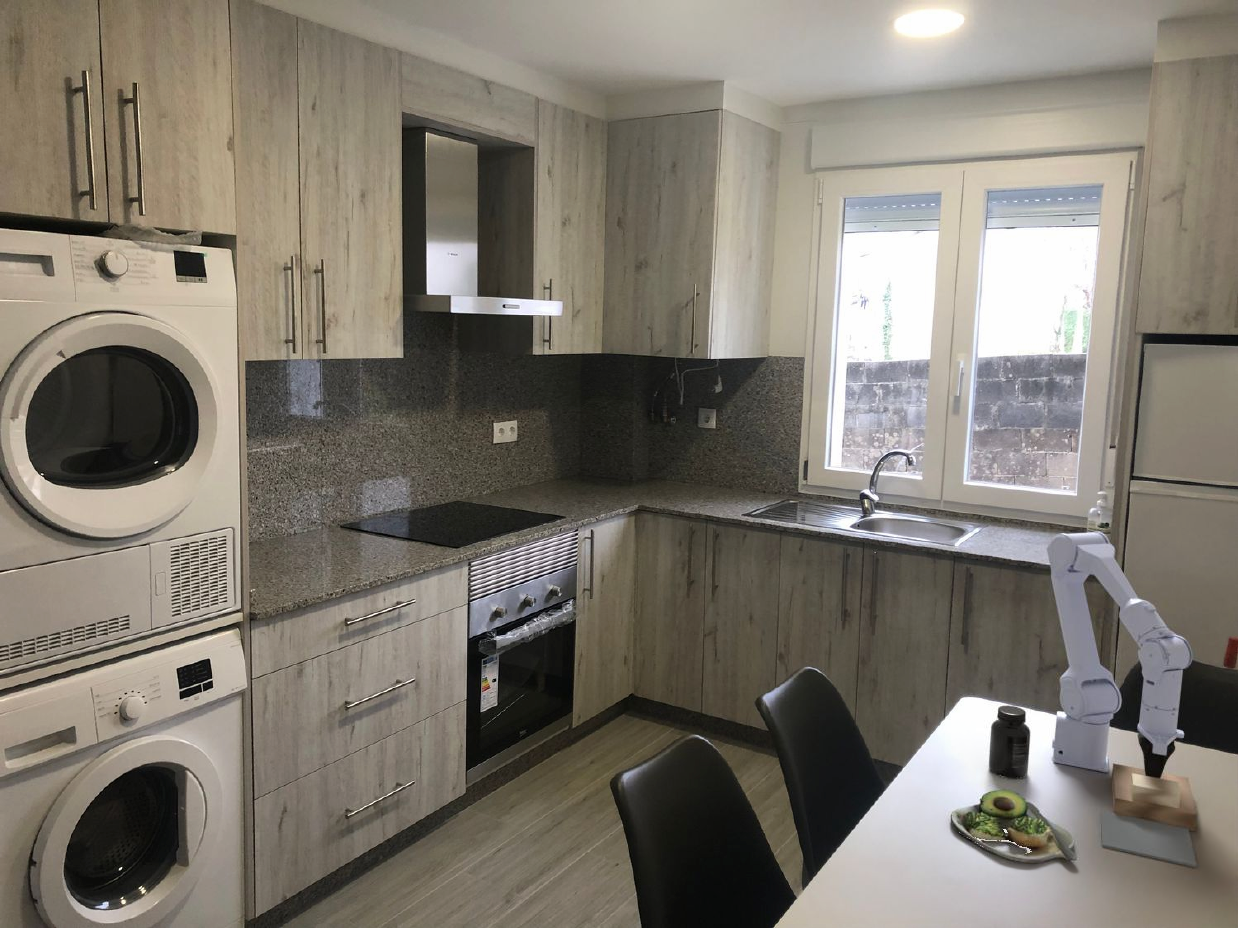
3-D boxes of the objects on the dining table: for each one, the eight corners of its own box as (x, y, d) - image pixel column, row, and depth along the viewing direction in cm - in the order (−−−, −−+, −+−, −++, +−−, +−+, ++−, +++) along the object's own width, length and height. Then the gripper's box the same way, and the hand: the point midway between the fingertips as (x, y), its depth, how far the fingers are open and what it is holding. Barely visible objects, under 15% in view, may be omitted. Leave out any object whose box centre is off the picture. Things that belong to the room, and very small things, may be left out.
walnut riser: (1113, 814, 163) (1115, 797, 163) (1111, 778, 177) (1113, 763, 176) (1195, 831, 158) (1197, 814, 158) (1186, 793, 172) (1188, 777, 171)
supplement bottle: (1026, 766, 181) (1031, 706, 179) (1028, 782, 174) (1034, 719, 173) (987, 760, 183) (992, 700, 181) (988, 775, 177) (993, 713, 175)
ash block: (1131, 798, 163) (1133, 784, 162) (1130, 786, 167) (1131, 773, 167) (1179, 808, 160) (1180, 794, 159) (1176, 795, 164) (1178, 781, 164)
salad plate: (1111, 858, 150) (1113, 831, 149) (1028, 883, 143) (1030, 854, 142) (1013, 803, 167) (1015, 778, 167) (935, 822, 160) (937, 796, 159)
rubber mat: (1102, 846, 153) (1102, 844, 153) (1100, 812, 164) (1101, 810, 164) (1196, 867, 147) (1196, 865, 147) (1188, 830, 158) (1188, 828, 158)
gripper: (1190, 723, 159) (1182, 800, 161) (1182, 694, 172) (1174, 766, 174) (1142, 715, 162) (1135, 790, 164) (1138, 687, 175) (1131, 758, 177)
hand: (1152, 777), depth 169 cm, fingers closed
